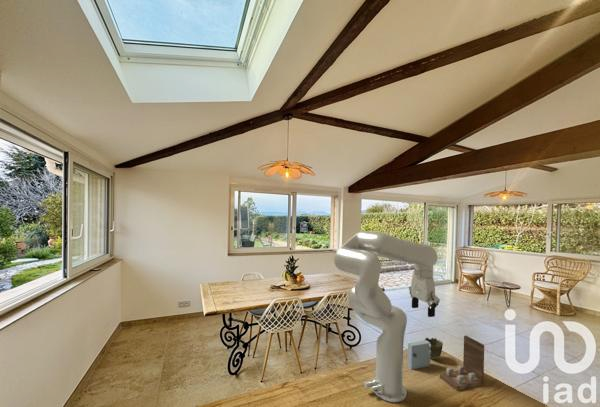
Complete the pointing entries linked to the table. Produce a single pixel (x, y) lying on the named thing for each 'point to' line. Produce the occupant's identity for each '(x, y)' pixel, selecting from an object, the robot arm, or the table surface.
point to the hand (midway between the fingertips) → (422, 311)
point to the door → (419, 354)
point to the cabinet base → (467, 367)
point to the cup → (435, 348)
